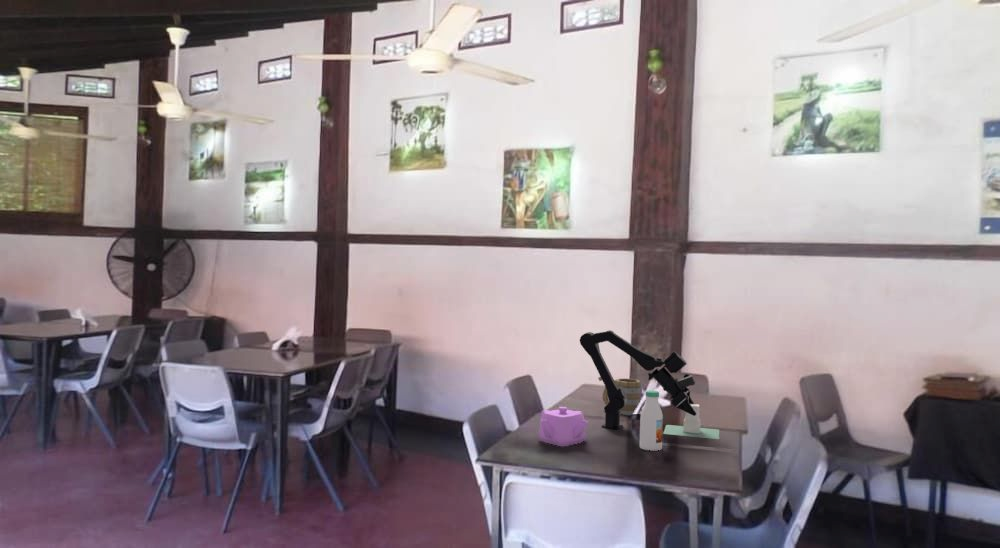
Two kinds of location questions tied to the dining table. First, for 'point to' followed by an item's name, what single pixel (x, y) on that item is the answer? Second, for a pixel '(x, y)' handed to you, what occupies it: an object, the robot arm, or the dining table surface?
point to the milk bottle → (651, 423)
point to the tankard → (632, 391)
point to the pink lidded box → (562, 426)
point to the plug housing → (692, 421)
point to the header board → (703, 433)
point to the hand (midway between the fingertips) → (696, 412)
